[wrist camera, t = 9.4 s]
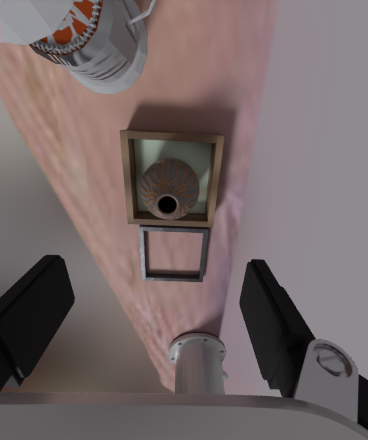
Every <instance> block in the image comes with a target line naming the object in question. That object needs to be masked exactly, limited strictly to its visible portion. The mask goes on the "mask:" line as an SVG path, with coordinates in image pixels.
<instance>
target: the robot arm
mask: <svg viewBox="0 0 368 440" xmlns="http://www.w3.org/2000/svg"><path fill="white" fill-rule="evenodd" d="M74 299H75V297H74V293H73V290H72V286H71V282H70V279H69V275H68V272H67V268H66V265H65V261H64V259H63V258H61V257H60V256H59V255H46V256H44V257H43V258H42V259H41V260H40V261H39V262H37V263H36V264H35V265H34V266H33V267H32V268H31V269H30V270H29V271H28V272H27V273H26V274H25V275H24V276H23V277H21V278H20V279H19V280H18V281H17V282H16V283H15V284H14V285H13V286H12V287H11V288H10V289H9V290H8V291H7V292H6V293H5V294H4V295H3V296H1V298H0V391H1V390H2V388H3V387H4V385H5V386H6V387H19V386H20V385H21V383H22V382H23V380H24V379H25V377H28V376H29V375H30V374H31V372H32V371H33V369H34V368H35V366H36V364H37V363H38V361H39V359H40V358H41V356H42V354H43V353H44V351H45V350H46V348H47V346H48V345H49V343H50V341H51V339H52V338H53V337H54V335H55V333H56V332H57V330H58V328H59V327H60V325H61V323H62V322H63V320H64V319H65V317H66V315H67V314H68V312H69V310H70V309H71V307H72V306H73V304H74ZM240 308H241V311H242V314H243V318H244V321H245V324H246V327H247V330H248V334H249V337H250V340H251V343H252V346H253V349H254V352H255V356H256V359H257V362H258V365H259V368H260V372H261V375H262V377H263V379H264V380H267V381H268V384H269V388H270V389H279V390H280V392H281V395H282V397H273V396H253V395H225V390H224V384H223V383H224V381H223V379H224V380H227V379H228V374H227V373H226V372H225V371H223V369H222V363H221V362H222V361H223V360H224V358H225V355H226V350H225V346H224V344H223V342H222V341H221V340H220V339H218V338H217V337H215V336H213V335H210V334H206V333H190V334H186V335H183V336H180V337H179V338H177V339H176V340H174V341H173V342H172V343H171V345H170V347H169V359H170V360H171V362H172V363H173V364H174V365H175V394H158V393H156V394H155V393H153V394H152V393H0V440H368V380H367V379H366V378H364V377H362V376H361V375H359V374H358V369H357V367H356V365H355V363H354V361H353V360H352V358H351V357H350V356H349V355H348V354H347V353H346V352H345V351H344V350H343V349H341V348H340V347H339V346H337V345H335V344H334V343H332V342H329V341H327V340H322V339H315V337H314V335H313V334H312V332H311V331H310V329H309V327H308V326H307V325H306V323H305V321H304V319H303V318H302V316H301V314H300V313H299V311H298V310H297V308H296V306H295V305H294V303H293V302H292V300H291V299H290V297H289V295H288V294H287V292H286V291H285V289H284V288H283V287H281V286H280V285H279V284H278V282H277V280H276V279H275V277H274V275H273V274H272V272H271V270H270V269H269V267H268V265H267V264H266V262H265V261H264V260H259V259H252V260H251V262H248V263H247V268H246V273H245V277H244V282H243V286H242V292H241V296H240Z"/></svg>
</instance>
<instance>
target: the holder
mask: <svg viewBox="0 0 368 440" xmlns="http://www.w3.org/2000/svg"><path fill="white" fill-rule="evenodd" d="M224 137H225V136H223V135H220V134H203V133H184V132H165V131H146V130H120V138H121V149H122V161H123V172H124V184H125V195H126V207H127V218H128V224H143V225H168V226H194V227H213V222H214V215H215V207H216V199H217V191H218V184H219V176H220V168H221V160H222V152H223V145H224ZM164 158H176V159H180V160H182V161H184V162H186V163H187V164H188V165H189V166H190V167H191V168H192V169H193V170H194V172H195V173H196V175H197V177H198V180H199V186H200V192H199V197H198V200H197V203H196V204H195V206H194V207H193V209H192V210H191V211H190V212H189V213H188V214H186V215H185V216H183V217H181V218H178V219H173V220H167V219H162V218H159V217H157V216H155V215H154V214H152V213H151V212H150V211H149V210H148V209H147V208H146V206H145V205H144V203H143V201H142V198H141V193H140V185H141V180H142V177H143V175H144V173H145V171H146V170H147V169H148V168H149V166H151V165H152V164H153V163H154V162H156V161H158V160H161V159H164Z"/></svg>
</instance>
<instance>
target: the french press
mask: <svg viewBox="0 0 368 440" xmlns="http://www.w3.org/2000/svg"><path fill="white" fill-rule="evenodd" d="M155 2H156V0H152V2H151V4H150V7H149V9H148V10H146V11H145V12H144V13H143V14H141V11H140V8H139V6H138V5H137V4H136V2H135V1H134V0H0V42H5V43H14V44H22V45H29V46H30V47H31V48H32V49H33V50H34V51H35V52H36V53H37V54H39V55H41V56H43V57H45V58H46V59H48V60H50V61H52V62H54V63H55V64H58V65H60V66H62V67H64V68H66V69H67V70H68V71H69V72H70V73H71V74H72V75H73V77H74V78H75V79H76V80H77V81H78V82H79V83H80V84H81V85H83V86H85V87H87V88H89V89H91V90H92V91H94V92H96V93H104V94H116V93H119V92H121V91H123V90H126V89H128V88H130V87H131V85H132V84H133V83H134V82H135V81H136V80H137V79H138V77H139V76H140V75H141V72H142V70H143V67H144V64H145V61H146V58H147V30H146V27H145V24H144V21H143V18H145V17H146V16H148V15H149V14H150V13H151V11H152V10H153V8H154V6H155ZM48 54H50V55H51V56H52V57H53V58H54V59H55V60H56V61H57V62H58V63H57V62H55V61H54V60H53V59H52V58H51V57H50V56H49V55H48ZM52 54H53V55H55V56H56V57H57V58H58V59H59V60H60V61H61V62H62V63H63V64H64V65H62V64H61V63H60V62H59V61H58V60H57V59H56V58H55V57H54V56H53V55H52ZM59 57H60V58H61V59H62V60H61V59H60V58H59Z"/></svg>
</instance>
